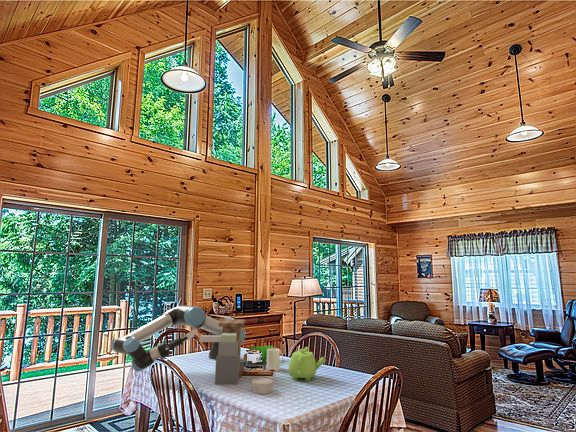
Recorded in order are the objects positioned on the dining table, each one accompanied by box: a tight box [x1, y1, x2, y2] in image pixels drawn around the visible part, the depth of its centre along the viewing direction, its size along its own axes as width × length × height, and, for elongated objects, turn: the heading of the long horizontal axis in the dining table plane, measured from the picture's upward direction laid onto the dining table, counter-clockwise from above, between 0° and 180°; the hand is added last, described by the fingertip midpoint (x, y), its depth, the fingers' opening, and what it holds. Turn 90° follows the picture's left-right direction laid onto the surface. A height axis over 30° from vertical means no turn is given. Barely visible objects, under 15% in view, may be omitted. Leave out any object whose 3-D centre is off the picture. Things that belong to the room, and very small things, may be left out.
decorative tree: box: [243, 345, 278, 363], centre depth 257 cm, size 11×12×30 cm
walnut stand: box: [219, 318, 246, 378], centre depth 227 cm, size 14×20×30 cm
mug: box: [266, 347, 284, 372], centre depth 237 cm, size 12×8×12 cm
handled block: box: [199, 333, 237, 343], centre depth 211 cm, size 20×8×4 cm, turn 93°
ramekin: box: [251, 377, 275, 395], centre depth 191 cm, size 11×11×5 cm
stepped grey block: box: [214, 340, 241, 385], centre depth 209 cm, size 12×12×21 cm
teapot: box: [288, 346, 327, 382], centre depth 219 cm, size 25×22×16 cm
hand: (195, 332), depth 210 cm, fingers open, 13 cm apart
